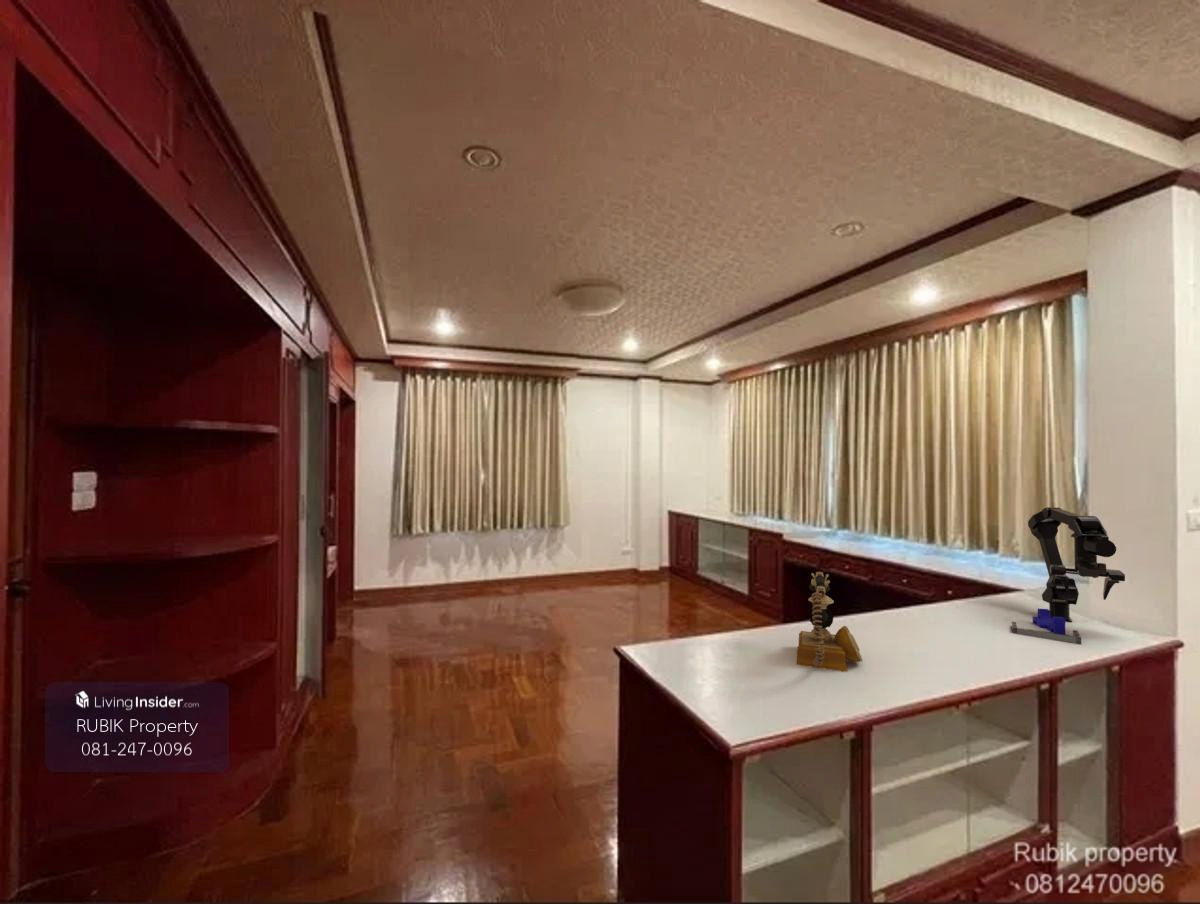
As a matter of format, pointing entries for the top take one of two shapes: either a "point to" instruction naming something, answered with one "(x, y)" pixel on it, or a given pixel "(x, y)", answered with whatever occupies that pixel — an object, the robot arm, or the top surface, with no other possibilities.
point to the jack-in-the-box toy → (825, 634)
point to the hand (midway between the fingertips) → (1086, 597)
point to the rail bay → (1048, 634)
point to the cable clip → (1049, 621)
